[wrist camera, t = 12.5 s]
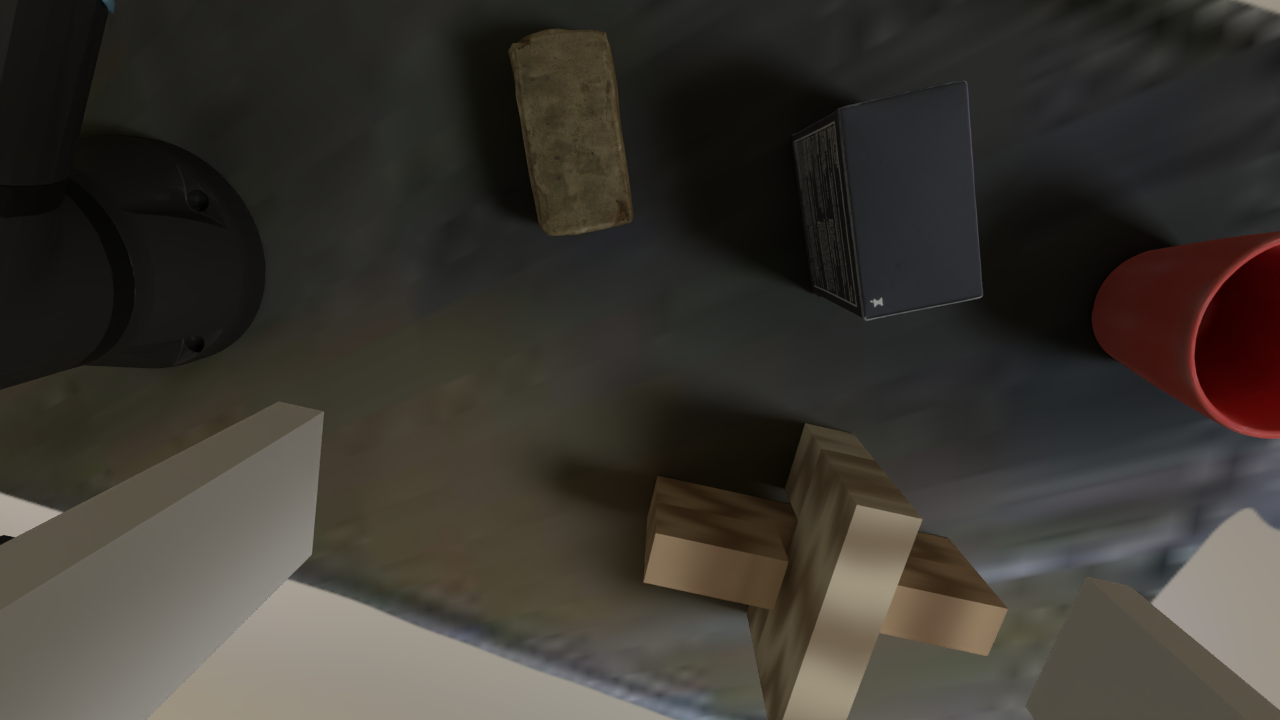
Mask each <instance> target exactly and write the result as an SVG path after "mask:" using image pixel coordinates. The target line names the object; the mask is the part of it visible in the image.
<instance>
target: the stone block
mask: <svg viewBox="0 0 1280 720" xmlns="http://www.w3.org/2000/svg"><path fill="white" fill-rule="evenodd" d="M508 53H509V57H510V61H511V65H512V69H513V74H514V80H515V87H516V100H517V105H518V110H519V115H520V120H521V128H522V134H523V141H524V147H525V153H526V159H527V165H528V171H529V177H530V182H531V187H532V191H533V196H534V200H535V206H536V212H537V218H538V222H539V225H540V227H541V228H542V230H543V231H544V232H545V233H546V234H547V235H552V236H562V235H578V234H582V233H587V232H592V231H597V230H603V229H607V228H611V227H613V226H620V225H625V224H628V223H631V221H632V219H633V217H634V213H633V205H632V198H631V191H630V184H629V177H628V169H627V162H626V156H625V149H624V142H623V137H622V130H621V123H620V112H619V100H618V88H617V81H616V75H615V69H614V64H613V59H612V54H611V48H610V45H609V42H608V39H607V36H606V32H601V31H594V30H565V29H547V30H542V31H539V32H536V33H533V34H530V35H528V36H526V37H524V38H523V39H522V40H520V41H519V42H517V43H513V44H512V46H511V48H510V49H509V50H508Z"/></svg>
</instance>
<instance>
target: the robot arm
mask: <svg viewBox="0 0 1280 720" xmlns="http://www.w3.org/2000/svg"><path fill="white" fill-rule="evenodd" d="M114 9H115V1H114V0H0V390H1V389H4V388H8V387H11V386H15V385H18V384H21V383H25V382H28V381H31V380H35V379H38V378H41V377H45V376H48V375H51V374H55V373H58V372H61V371H64V370H68V369H72V368H75V367H79V366H83V365H88V366H110V367H132V368H167V367H174V366H179V365H184V364H187V363H190V362H193V361H196V360H199V359H202V358H205V357H208V356H211V355H214V354H216V353H218V352H220V351H222V350H224V349H225V348H227V347H228V346H230V345H231V344H233V343H234V342H235V341H236V340H237V339H239V338H240V336H241V335H242V334H243V333H244V332H245V331H246V330H247V328H248V327H249V326H250V324H251V323H252V321H253V319H254V317H255V316H256V313H257V311H258V309H259V306H260V303H261V300H262V296H263V291H264V285H265V260H264V253H263V248H262V243H261V240H260V236H259V233H258V231H257V228H256V225H255V223H254V221H253V219H252V217H251V215H250V213H249V211H248V209H247V207H246V206H245V204H244V202H243V201H242V199H241V198H240V196H239V195H238V194H237V193H236V191H235V190H234V189H233V188H232V186H231V185H230V184H229V183H228V182H227V181H226V180H225V179H224V178H223V177H222V176H221V175H220V174H219V173H218V172H217V171H216V170H215V169H213V168H212V167H211V166H210V165H208V164H207V163H206V162H204V161H203V160H201V159H200V158H198V157H197V156H195V155H193V154H192V153H190V152H188V151H186V150H184V149H182V148H179V147H177V146H174V145H171V144H169V143H165V142H162V141H158V140H153V139H146V138H138V137H129V136H120V135H98V136H88V137H83V138H79V133H80V129H81V125H82V121H83V117H84V112H85V108H86V104H87V100H88V96H89V92H90V87H91V83H92V79H93V75H94V71H95V66H96V62H97V58H98V54H99V50H100V45H101V41H102V37H103V33H104V29H105V25H106V20H107V16H108V13H111V14H113V13H114ZM78 138H79V139H78ZM323 418H324V411H319V410H315V409H310V408H305V407H301V406H296V405H292V404H287V403H282V402H277V403H275V404H273V405H271V406H269V407H267V408H265V409H264V410H262V411H260V412H258V413H256V414H254V415H252V416H250V417H248V418H246V419H244V420H242V421H240V422H238V423H236V424H234V425H232V426H231V427H229V428H227V429H225V430H223V431H221V432H219V433H217V434H215V435H213V436H211V437H209V438H207V439H205V440H203V441H201V442H200V443H198V444H196V445H194V446H192V447H190V448H188V449H186V450H184V451H182V452H180V453H178V454H176V455H174V456H172V457H170V458H168V459H167V460H165V461H163V462H161V463H159V464H157V465H155V466H153V467H151V468H149V469H147V470H145V471H143V472H141V473H139V474H137V475H135V476H134V477H132V478H130V479H128V480H126V481H124V482H122V483H120V484H118V485H116V486H114V487H112V488H110V489H108V490H106V491H104V492H103V493H101V494H99V495H97V496H95V497H93V498H91V499H89V500H87V501H85V502H83V503H81V504H79V505H77V506H75V507H73V508H71V509H70V510H68V511H66V512H64V513H62V514H60V515H58V516H56V517H54V518H52V519H50V520H48V521H46V522H45V523H43V524H41V525H39V526H37V527H35V528H33V529H31V530H29V531H27V532H25V533H23V534H21V535H19V536H17V537H11V536H5V535H3V536H0V720H146V719H147V718H148V717H149V716H150V715H151V714H152V713H153V712H154V711H155V710H156V709H157V708H158V707H159V706H160V705H161V704H162V703H163V702H164V701H165V700H166V699H167V698H168V697H169V696H170V695H171V694H172V693H173V692H174V691H175V690H176V689H177V688H178V687H179V686H180V685H181V684H182V683H183V682H184V681H185V680H186V679H187V678H188V677H189V676H190V675H191V674H192V673H193V672H194V671H195V670H196V669H197V668H198V667H199V666H200V665H201V664H202V663H203V662H204V661H205V660H206V659H207V658H208V657H209V656H210V655H211V654H212V653H213V652H214V651H215V650H216V649H217V648H218V647H219V646H220V645H221V644H222V643H223V642H224V641H225V640H226V639H227V638H228V637H229V636H230V635H231V634H232V633H233V632H234V631H235V630H236V629H237V628H238V627H239V626H240V625H241V624H242V623H244V621H245V620H246V619H248V617H249V616H250V615H252V614H253V612H255V610H257V609H258V607H259V606H261V605H262V603H264V602H265V601H266V600H267V598H268V597H270V596H271V594H272V593H274V592H275V591H276V590H277V588H279V587H280V586H281V585H282V584H283V583H284V582H285V581H286V580H287V579H288V578H289V577H290V576H291V575H292V574H293V573H294V572H295V571H296V570H297V569H298V568H299V567H300V566H301V565H302V564H303V563H304V562H305V561H306V560H307V559H308V558H309V557H310V556H311V555H312V546H313V534H314V522H315V511H316V499H317V487H318V476H319V464H320V453H321V441H322V429H323ZM1026 708H1027V709H1028V711H1029V712H1030V714H1031V715H1032V716H1033V718H1034V719H1035V720H1280V710H1279V709H1278V708H1276V707H1275V706H1274V705H1273V704H1271V703H1270V702H1269V701H1268V700H1267V699H1266V698H1264V697H1263V696H1262V695H1261V694H1259V693H1258V692H1257V691H1256V690H1255V689H1253V688H1252V687H1251V686H1250V685H1249V684H1247V683H1246V682H1245V681H1244V680H1243V679H1241V678H1240V677H1239V676H1238V675H1237V674H1235V673H1234V672H1233V671H1232V670H1230V669H1229V668H1228V667H1227V666H1226V665H1224V664H1223V663H1222V662H1221V661H1220V660H1218V659H1217V658H1216V657H1215V656H1214V655H1212V654H1211V653H1210V652H1209V651H1207V650H1206V649H1205V648H1204V647H1203V646H1201V645H1200V644H1199V643H1198V642H1197V641H1195V640H1194V639H1193V638H1192V637H1191V636H1189V635H1188V634H1187V633H1186V632H1184V631H1183V630H1182V629H1181V628H1180V627H1178V626H1177V625H1176V624H1175V623H1173V622H1172V621H1171V620H1170V619H1169V618H1168V617H1166V616H1165V615H1164V614H1163V613H1161V612H1160V611H1159V610H1158V609H1157V608H1155V607H1154V606H1153V605H1152V604H1151V603H1149V602H1148V601H1147V600H1146V599H1145V598H1143V597H1142V596H1141V595H1140V594H1139V593H1137V592H1136V591H1135V590H1134V589H1132V588H1131V587H1130V586H1127V585H1122V584H1118V583H1113V582H1108V581H1104V580H1099V579H1094V578H1090V577H1086V578H1085V580H1084V582H1083V584H1082V586H1081V589H1080V591H1079V593H1078V595H1077V597H1076V599H1075V601H1074V604H1073V606H1072V608H1071V610H1070V612H1069V614H1068V616H1067V619H1066V621H1065V623H1064V625H1063V627H1062V629H1061V631H1060V634H1059V636H1058V638H1057V640H1056V642H1055V644H1054V647H1053V649H1052V651H1051V653H1050V655H1049V657H1048V659H1047V662H1046V664H1045V666H1044V668H1043V670H1042V672H1041V674H1040V677H1039V679H1038V681H1037V683H1036V685H1035V687H1034V689H1033V692H1032V694H1031V696H1030V698H1029V700H1028V702H1027V704H1026Z"/></svg>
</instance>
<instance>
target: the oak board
mask: <svg viewBox="0 0 1280 720" xmlns="http://www.w3.org/2000/svg"><path fill="white" fill-rule="evenodd" d="M797 523H798V520H797V517H796V515H795V512H794V510H793V508H792V505H791V504H786V503H782V502H777V501H773V500H768V499H763V498H759V497H754V496H750V495H745V494H740V493H736V492H731V491H727V490H722V489H717V488H713V487H708V486H703V485H699V484H694V483H690V482H685V481H680V480H676V479H671V478H667V477H662V476H657V480H656V484H655V488H654V492H653V496H652V500H651V504H650V508H649V512H648V516H647V530H646V548H645V565H644V583H649V584H653V585H658V586H663V587H667V588H672V589H677V590H681V591H686V592H691V593H695V594H700V595H705V596H709V597H714V598H719V599H723V600H728V601H733V602H737V603H742V604H747V605H751V606H756V607H761V608H765V609H770V610H774V606H775V603H776V600H777V597H778V594H779V591H780V587H781V584H782V581H783V578H784V575H785V572H786V569H787V565H788V562H789V561H788V558H787V554H788V551H789V548H790V545H791V542H792V539H793V535H794V532H795V529H796V526H797ZM1007 610H1008V608H1007V607H1006V606H1005V605H1004V604H1003V602H1002V601H1001V600H1000V599H999V598H998V596H997V595H996V594H995V593H994V592H993V590H992V589H991V588H990V587H989V586H988V585H987V583H986V582H985V581H984V580H983V579H982V577H981V576H980V575H979V574H978V573H977V571H976V570H975V569H974V568H973V567H972V566H971V564H970V563H969V562H968V561H967V560H966V558H965V557H964V556H963V555H962V554H961V553H960V551H959V550H958V549H957V548H956V547H955V545H954V544H953V543H952V542H951V541H950V539H948V538H943V537H939V536H934V535H929V534H925V533H920V532H918V533H917V535H916V538H915V541H914V543H913V546H912V549H911V551H910V554H909V556H908V559H907V562H906V564H905V567H904V570H903V572H902V575H901V578H900V580H899V583H898V585H897V588H896V591H895V593H894V596H893V599H892V601H891V604H890V606H889V609H888V612H887V614H886V617H885V620H884V622H883V625H882V628H881V630H880V633H882V634H887V635H891V636H896V637H901V638H905V639H910V640H915V641H919V642H924V643H929V644H933V645H938V646H943V647H947V648H952V649H957V650H962V651H966V652H971V653H976V654H980V655H985V656H988V654H989V652H990V650H991V647H992V645H993V643H994V640H995V638H996V636H997V633H998V631H999V629H1000V627H1001V624H1002V622H1003V620H1004V617H1005V615H1006V613H1007Z"/></svg>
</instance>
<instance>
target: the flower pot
mask: <svg viewBox="0 0 1280 720" xmlns="http://www.w3.org/2000/svg"><path fill="white" fill-rule="evenodd" d="M1092 326H1093V331H1094V334H1095V337H1096V339H1097V341H1098V343H1099V344H1100V346H1101V347H1102V348H1103V350H1104V351H1105V352H1106V353H1107V354H1109V355H1110V356H1111V357H1113V358H1114V359H1115V360H1117V361H1119V362H1120V363H1122V364H1123V365H1125V366H1126V367H1127V368H1129V369H1130V370H1132V371H1133V372H1135V373H1136V374H1138V375H1139V376H1141V377H1142V378H1144V379H1145V380H1147V381H1148V382H1150V383H1151V384H1153V385H1155V386H1156V387H1158V388H1159V389H1161V390H1163V391H1164V392H1166V393H1168V394H1169V395H1171V396H1173V397H1174V398H1176V399H1178V400H1179V401H1181V402H1183V403H1184V404H1186V405H1188V406H1189V407H1191V408H1193V409H1194V410H1196V411H1198V412H1199V413H1201V414H1203V415H1204V416H1206V417H1208V418H1210V419H1211V420H1213V421H1215V422H1217V423H1219V424H1220V425H1222V426H1224V427H1226V428H1228V429H1230V430H1233V431H1235V432H1238V433H1241V434H1244V435H1248V436H1252V437H1258V438H1270V439H1273V438H1280V231H1279V232H1271V233H1263V234H1254V235H1247V236H1239V237H1231V238H1224V239H1217V240H1210V241H1204V242H1198V243H1192V244H1186V245H1179V246H1173V247H1167V248H1161V249H1155V250H1150V251H1146V252H1143V253H1141V254H1138V255H1136V256H1134V257H1132V258H1130V259H1128V260H1126V261H1125V262H1123V263H1122V264H1120V265H1119V266H1118V267H1117V268H1116V269H1115V270H1113V271H1112V272H1111V273H1110V275H1108V277H1107V278H1106V279H1105V281H1104V282H1103V284H1102V285H1101V287H1100V289H1099V291H1098V293H1097V295H1096V298H1095V301H1094V308H1093V311H1092Z"/></svg>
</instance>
